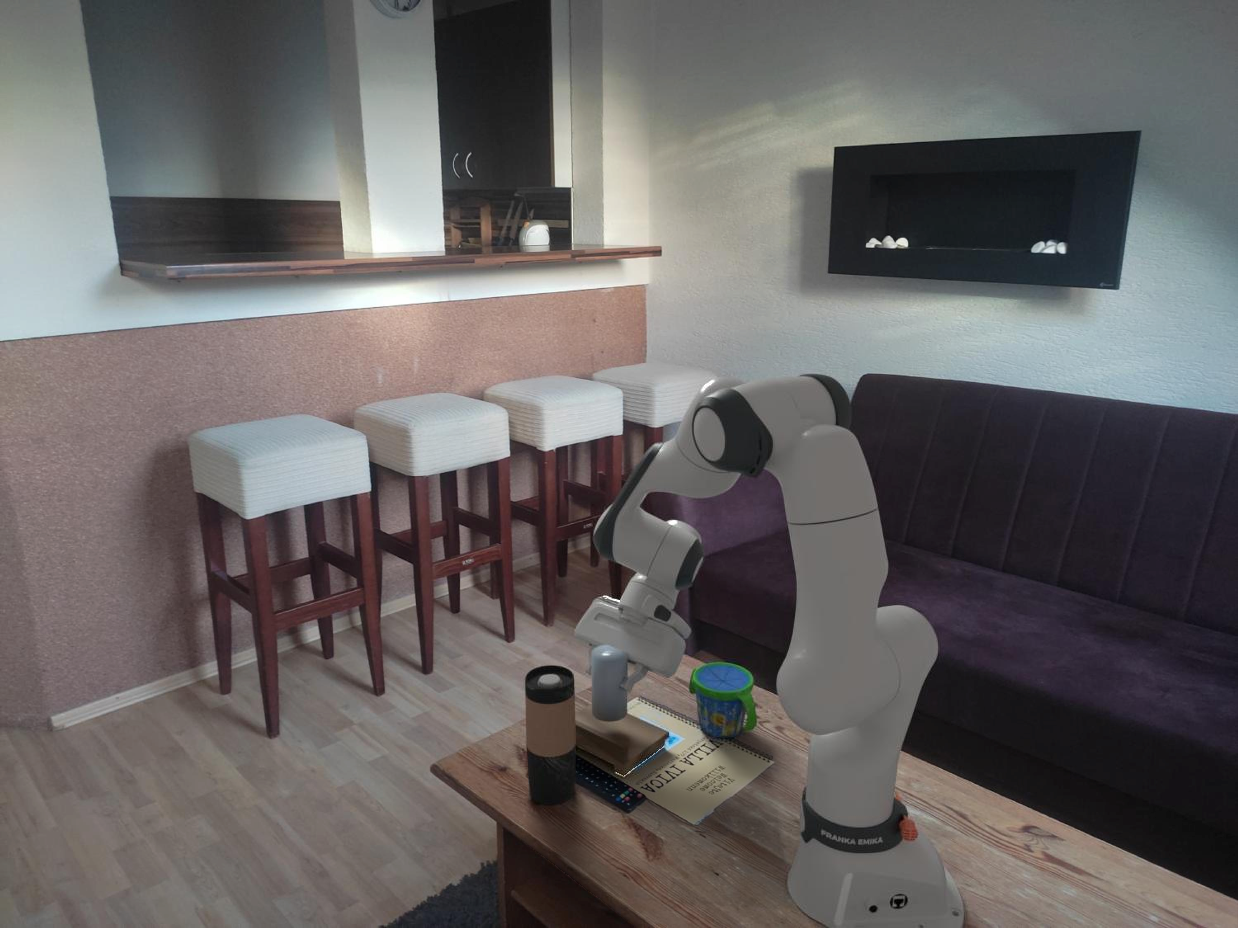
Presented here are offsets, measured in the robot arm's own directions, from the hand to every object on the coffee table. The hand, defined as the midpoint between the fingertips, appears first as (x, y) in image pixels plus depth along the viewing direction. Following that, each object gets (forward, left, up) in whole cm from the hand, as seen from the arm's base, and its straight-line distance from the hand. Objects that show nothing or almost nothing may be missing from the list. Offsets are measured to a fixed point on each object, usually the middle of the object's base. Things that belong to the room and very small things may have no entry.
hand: (607, 682), depth 149 cm
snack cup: (-19, -7, -13) cm, 24 cm away
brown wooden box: (0, -1, -12) cm, 12 cm away
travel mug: (+8, +13, -12) cm, 19 cm away
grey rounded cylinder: (0, -1, -6) cm, 6 cm away
